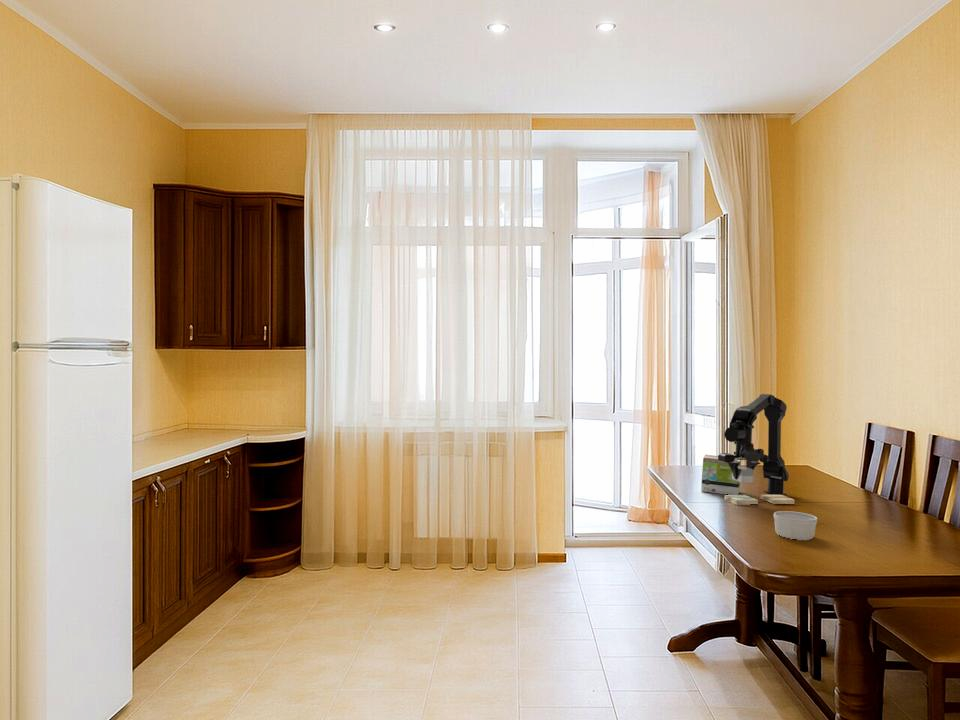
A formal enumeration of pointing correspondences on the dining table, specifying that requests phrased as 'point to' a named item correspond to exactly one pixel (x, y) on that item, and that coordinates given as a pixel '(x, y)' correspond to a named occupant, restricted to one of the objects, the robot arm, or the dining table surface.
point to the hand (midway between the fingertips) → (742, 479)
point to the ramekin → (795, 525)
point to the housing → (744, 474)
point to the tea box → (718, 476)
